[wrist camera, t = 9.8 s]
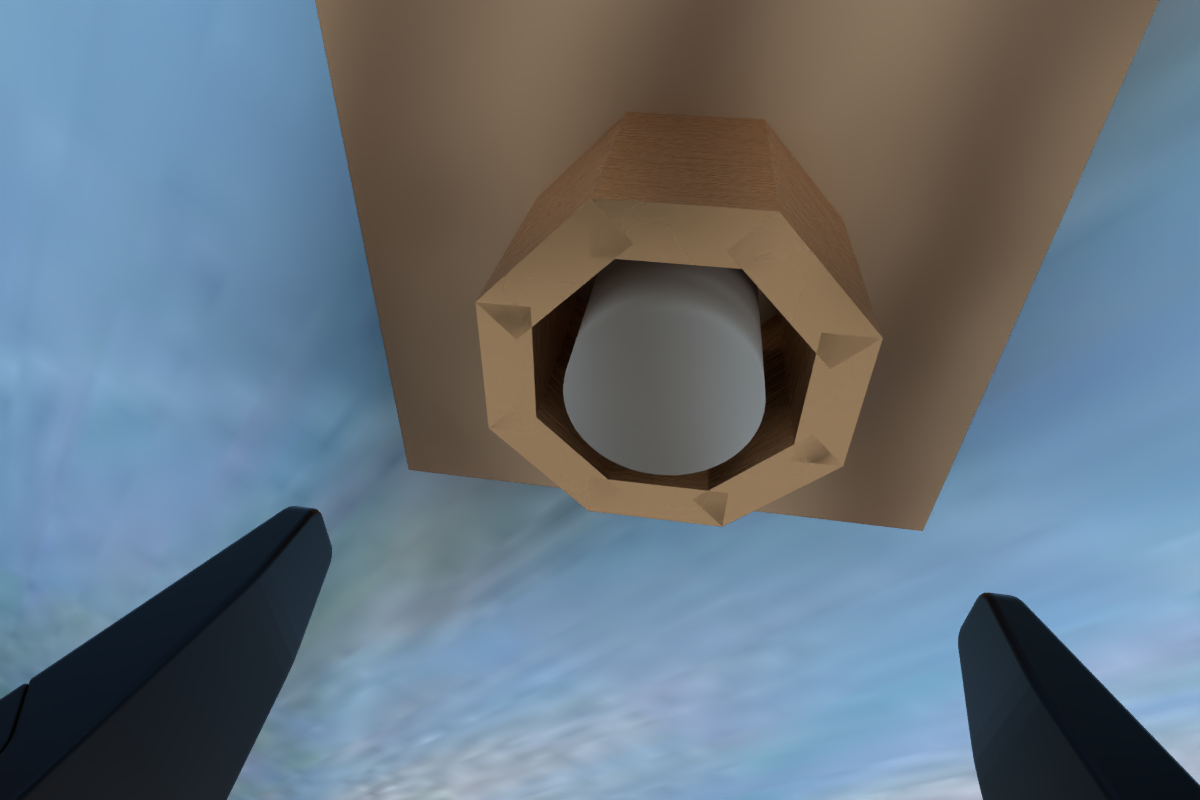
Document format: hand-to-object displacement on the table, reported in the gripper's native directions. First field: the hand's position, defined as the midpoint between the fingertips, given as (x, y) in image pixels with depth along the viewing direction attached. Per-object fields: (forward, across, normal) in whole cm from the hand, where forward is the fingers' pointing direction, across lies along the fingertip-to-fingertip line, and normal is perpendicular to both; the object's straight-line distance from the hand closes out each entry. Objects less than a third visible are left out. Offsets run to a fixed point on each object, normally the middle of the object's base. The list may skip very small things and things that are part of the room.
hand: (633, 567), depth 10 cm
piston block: (+11, 0, 0) cm, 11 cm away
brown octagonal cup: (+9, 0, 0) cm, 9 cm away
